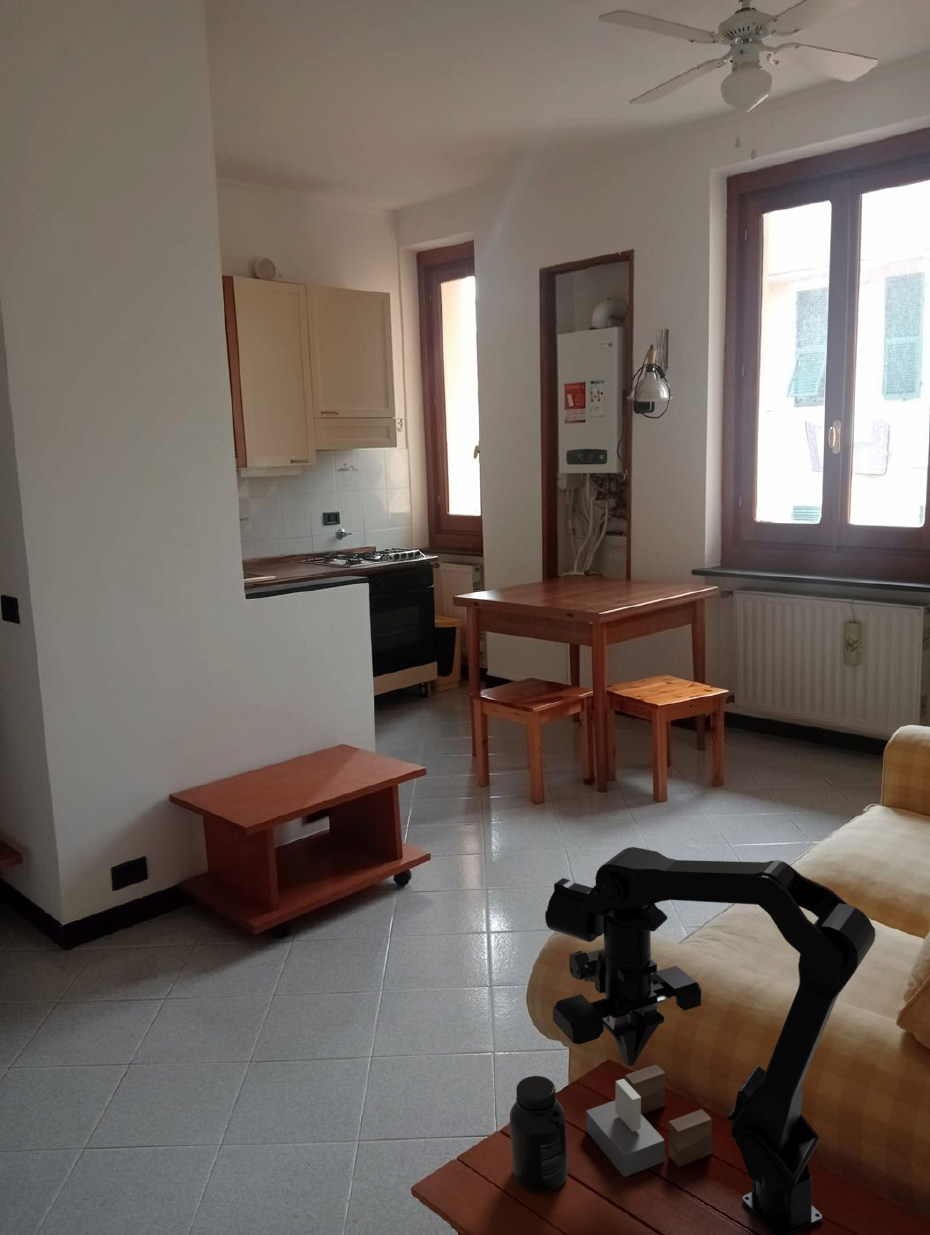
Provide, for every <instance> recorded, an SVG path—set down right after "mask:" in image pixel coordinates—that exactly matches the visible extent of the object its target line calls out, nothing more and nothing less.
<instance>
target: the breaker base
mask: <svg viewBox="0 0 930 1235" xmlns="http://www.w3.org/2000/svg"><path fill="white" fill-rule="evenodd" d="M585 1114H586V1115H585V1117H586V1118H585V1119H586V1122H585V1123H586V1132H587V1133H588V1134H589V1136H590V1137H591V1138H592V1139H593V1141H594V1142H595V1143H596V1144H597V1145H598V1147H599V1148H600V1149H601V1151H602V1152H603V1153H604V1154H605V1156H606V1157H607V1158H608V1159H609V1161H610V1162H611V1163H612V1164H613V1165H614V1167H615V1168H616V1169H617V1171H618V1172H619V1173H620V1174H621V1175H622V1177H623V1178H626V1177H629V1176H631V1175H633V1174H636V1173H638V1172H641V1171H644V1170H646V1169H648V1168H652V1167H654V1166H656V1165H659V1164H662V1163H664V1162H665V1161H666V1153H665V1152H666V1149H665V1148H666V1142H665V1141H666V1140H665V1139H664V1138H663V1136H662V1135H661V1134H660V1133H659V1132H658V1131H657V1130H656V1129H655V1128H654V1127H653V1125H652V1124H651V1123H650V1122H649V1120H648V1119H646V1118H645V1117H644V1115H643V1114H641V1127H640V1129H638V1130H635V1131H631V1129H630V1128H629V1127H628V1126H627V1125H626V1124H625V1122H624V1121H623V1120H622V1119H621V1118H620V1117H619V1116H618V1114H617V1113H616V1112H615V1100H612V1101H609V1102H607V1103H604V1104H601V1105H598V1106H595V1107H592V1108H589V1109H587V1110H585Z"/></svg>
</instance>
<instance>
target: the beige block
mask: <svg viewBox="0 0 930 1235" xmlns="http://www.w3.org/2000/svg"><path fill="white" fill-rule="evenodd" d="M712 1125H713V1122H712V1118H711V1117H710V1115H708V1114H707V1113H706V1111H704V1110H703V1109H702V1108H701V1109H698V1110H696V1111H693V1112H690V1113H688V1114H685V1115H682V1116H680V1117H676V1118H675V1119H672V1120H669V1121H668V1148H669V1150H668V1156H669V1158H670V1159H671V1160H672V1161H673V1162H674V1163H675V1164H676V1166H677V1167H683V1166H685V1165H688V1164H690V1163H692V1162H695V1161H697V1160H700V1159H703V1158H704V1157H705V1158H706V1157H707V1156H710V1155H712V1152H713V1149H712V1146H713V1144H712V1143H713V1141H712V1140H713V1136H712V1134H713V1131H712V1130H713V1129H712V1127H713V1126H712Z"/></svg>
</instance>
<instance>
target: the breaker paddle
mask: <svg viewBox="0 0 930 1235" xmlns="http://www.w3.org/2000/svg"><path fill="white" fill-rule="evenodd" d="M614 1101H615V1112H616V1113H617V1114H618V1116H619V1117H620V1118H621V1119H622V1120H623V1121H624V1122H625V1124H626V1125H627V1126H628V1127H629V1128H630V1129H631V1131H635V1130H638V1129H640V1127H641V1115H642V1114H641V1097H640V1096H639V1095H638V1093H637V1092H636V1091H635V1090H634V1089H633V1088H632V1087H631V1086H630V1085H629V1084H628V1083H627V1082H626V1081H625V1078H621V1079H619V1080H615V1099H614Z"/></svg>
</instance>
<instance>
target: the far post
mask: <svg viewBox="0 0 930 1235" xmlns="http://www.w3.org/2000/svg"><path fill="white" fill-rule="evenodd" d="M624 1077H625V1078H624V1080H625V1081H626V1082H627V1083H628V1084H629V1085H630V1086H631V1087H632V1088H633V1089H634V1090H635V1091H636V1092H637V1093H638V1095H639V1096H640V1097H641V1115H643V1114H646V1113H649V1112H652V1111H654V1110H658V1109H660V1108H663V1107H665V1106H666V1071H664V1070H663V1069H662V1068H661V1067H660V1066H659V1065H658V1064H653V1065H651V1066H647V1067H645V1068H642V1069H639V1070H636V1071H633V1072H630V1073H627V1074H625V1076H624Z"/></svg>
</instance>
